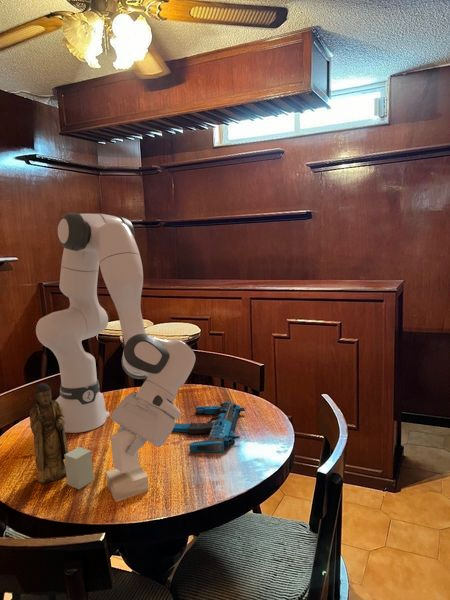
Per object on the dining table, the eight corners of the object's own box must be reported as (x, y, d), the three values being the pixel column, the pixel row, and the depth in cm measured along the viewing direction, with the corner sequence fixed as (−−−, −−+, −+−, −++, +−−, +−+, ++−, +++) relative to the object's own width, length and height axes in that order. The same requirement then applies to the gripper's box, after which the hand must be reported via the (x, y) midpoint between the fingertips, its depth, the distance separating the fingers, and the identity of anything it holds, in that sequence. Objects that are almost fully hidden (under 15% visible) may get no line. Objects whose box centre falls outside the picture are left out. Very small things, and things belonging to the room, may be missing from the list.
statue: (27, 488, 107) (16, 392, 103) (45, 468, 116) (35, 379, 112) (63, 488, 106) (53, 391, 103) (78, 468, 115) (69, 378, 112)
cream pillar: (113, 466, 105) (110, 435, 103) (129, 459, 108) (127, 429, 106) (122, 473, 101) (119, 441, 100) (139, 465, 104) (136, 434, 103)
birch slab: (107, 486, 107) (105, 471, 106) (138, 476, 111) (137, 462, 110) (116, 503, 100) (114, 487, 99) (148, 491, 104) (147, 476, 103)
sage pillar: (67, 484, 108) (64, 454, 107) (81, 475, 112) (79, 446, 110) (79, 489, 106) (76, 459, 104) (93, 480, 109) (90, 450, 108)
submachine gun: (179, 397, 156) (247, 394, 153) (180, 407, 157) (248, 405, 153) (150, 443, 123) (237, 441, 119) (152, 455, 123) (239, 453, 120)
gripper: (124, 384, 114) (93, 431, 109) (169, 404, 99) (135, 459, 94) (140, 395, 118) (110, 441, 113) (185, 416, 103) (154, 470, 98)
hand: (122, 450), depth 103 cm, fingers closed on cream pillar, 4 cm apart
